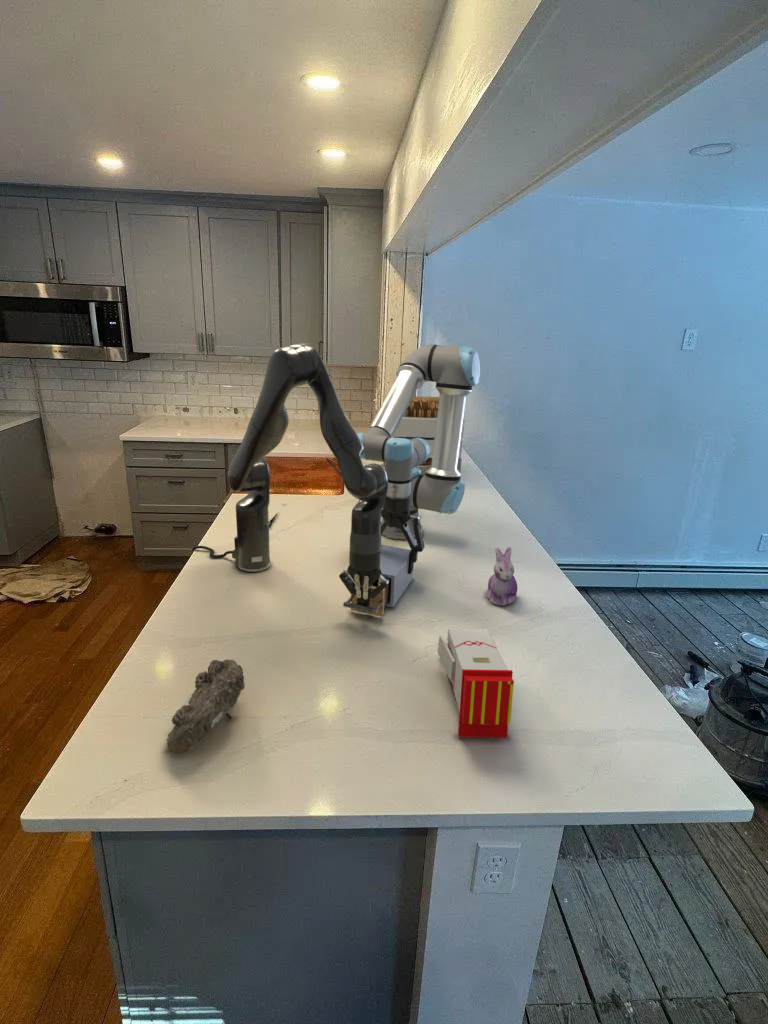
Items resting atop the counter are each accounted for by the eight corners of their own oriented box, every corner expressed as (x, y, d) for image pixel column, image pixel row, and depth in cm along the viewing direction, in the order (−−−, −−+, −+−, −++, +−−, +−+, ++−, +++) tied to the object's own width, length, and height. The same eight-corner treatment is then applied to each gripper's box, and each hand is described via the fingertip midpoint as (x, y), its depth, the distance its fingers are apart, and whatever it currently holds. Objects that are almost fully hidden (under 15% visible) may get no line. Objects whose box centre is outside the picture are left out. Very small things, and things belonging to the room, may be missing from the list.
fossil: (192, 660, 117) (244, 628, 112) (224, 691, 120) (276, 661, 115) (142, 746, 98) (202, 712, 93) (182, 779, 101) (242, 748, 96)
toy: (488, 613, 130) (523, 677, 101) (484, 667, 133) (517, 744, 104) (435, 612, 130) (455, 676, 101) (432, 666, 133) (451, 743, 103)
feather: (285, 507, 224) (287, 503, 224) (267, 531, 198) (270, 526, 197) (281, 504, 224) (284, 500, 223) (263, 528, 197) (265, 524, 197)
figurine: (499, 610, 151) (506, 558, 146) (476, 593, 160) (482, 544, 155) (527, 603, 156) (534, 553, 151) (503, 587, 164) (509, 539, 159)
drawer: (375, 626, 140) (376, 599, 137) (342, 619, 142) (343, 592, 140) (401, 588, 159) (403, 564, 156) (372, 582, 162) (373, 558, 159)
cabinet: (393, 607, 151) (394, 575, 147) (358, 600, 153) (359, 569, 150) (412, 579, 167) (413, 550, 163) (380, 573, 169) (381, 544, 166)
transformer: (382, 463, 289) (386, 382, 275) (445, 464, 293) (451, 384, 279) (390, 482, 257) (394, 392, 243) (460, 483, 261) (468, 394, 247)
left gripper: (333, 548, 134) (332, 611, 141) (386, 557, 131) (383, 622, 137) (345, 536, 141) (344, 597, 147) (396, 545, 137) (392, 607, 143)
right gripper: (353, 493, 156) (351, 566, 163) (433, 505, 149) (427, 581, 157) (363, 486, 162) (361, 557, 170) (439, 497, 156) (434, 570, 163)
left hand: (363, 609), depth 142 cm, fingers closed
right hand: (392, 568), depth 163 cm, fingers closed on cabinet, 10 cm apart
